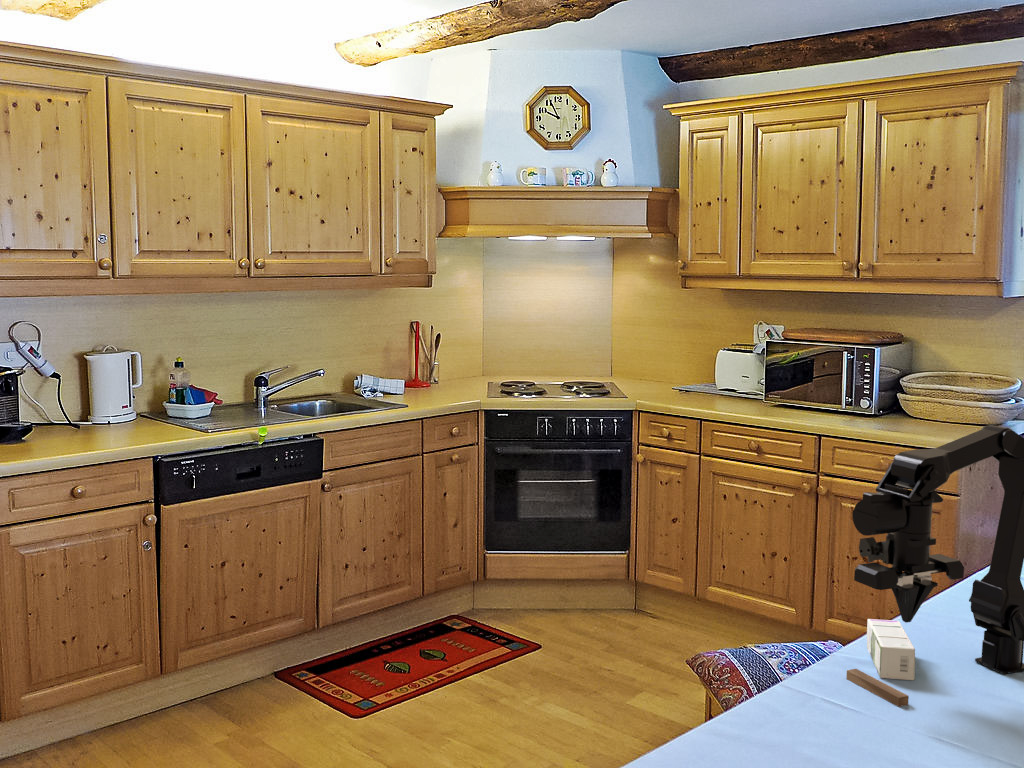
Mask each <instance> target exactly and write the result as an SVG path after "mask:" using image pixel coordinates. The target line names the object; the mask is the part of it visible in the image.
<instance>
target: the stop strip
mask: <svg viewBox="0 0 1024 768" xmlns="http://www.w3.org/2000/svg"><path fill="white" fill-rule="evenodd" d="M845 677H846V680H848V681H850V682H852V683H853V684H855V685H857V686H859V687H861V688H863V689H865V690H866V691H868V692H870V693H872V694H874V695H875V696H878V697H879V698H881V699H884V700H885V701H887V702H888V703H890V704H892V705H894V706H896V707H898V708H900V707H903V706H909V700H910V699H909V696H910V695H909V694H906V693H904V692H902V691H900V690H898V689H896V688H895V687H893V686H891V685H888V684H887V683H885V682H884V681H883V682H882V681H881V680H879V679H877V678H875V677H873V676H871V675H870V674H867V673H866V672H864V671H862V670H860V669H858V668H853V669H847V670H846V676H845Z"/></svg>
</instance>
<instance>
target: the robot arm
mask: <svg viewBox="0 0 1024 768" xmlns="http://www.w3.org/2000/svg"><path fill="white" fill-rule="evenodd" d="M989 458H992V459H994V460H995V461H996V462H997V463H998V472H997V475H998V478H999V480H1000V483H1001V485H1002V488H1003V493H1004V494H1003V497H1002V503H1001V509H1000V512H999V513H1000V514H999V518H998V522H997V523H998V525H997V529H996V535H995V540H994V544H993V549H992V553H991V554H992V555H991V560H990V564H989V569H988V572H987V573H986V574H985V575H984V576H983V577H982V578H981V579H980V580H979V579H975V580H974V581H973V583H972V589H971V594H970V597H969V599H968V602H969V603H970V611H971V612H972V614H973V619H974V624H975V627H980V628H983V629H985V630H984V631H983V640H982V642H981V643H982V644H981V645H982V647H981V657H976V658H974V662H976V663H978V664H980V665H982V666H984V667H987V668H989V669H991V670H994V671H996V672H997V673H1000V674H1003V675H1009V674H1011V673H1013V674H1014V673H1018V672H1022V671H1024V662H1023V661H1024V660H1023V659H1024V586H1023V584H1022V580H1021V575H1022V571H1023V565H1024V437H1023V436H1021V435H1020V434H1018V433H1017V432H1016V431H1014V430H1012V429H1011V428H1009V427H1003V426H998V425H995V424H994V425H993V424H990V425H989V424H988V425H984V426H983V427H982V428H981V429H979V430H977V431H974V432H972V433H970V434H967V435H965V436H963V437H962V436H961V437H959V438H957V439H954V440H953V441H950V442H947V443H945V444H942V445H939V446H937V447H933V448H923V449H920V448H918V449H917V448H916V449H911V450H906V451H901V452H899V453H897V454H896V455H895V456H893V461H892V462H891V464H890V465H889V467H888V468H887V470H886V471H885V473H884V475H883V476H882V478H881V480H880V481H879V483H878V485H877V486H876V488H875V491H876V492H870V491H867V492H866V491H865V492H863V493H862V499H861V500H858V502H857V503H856V504H855V506H854V508H853V510H852V513H851V514H852V515H851V516H852V522H853V525H854V527H855V529H856V531H858V533H859V534H861V535H862V536H865V537H864V538H863V537H862V538H860V539H859V545H858V552H859V555H860V557H862V558H867V561H868V562H867V563H859V564H858V565H857V566H856V567H855V568H854V575H853V576H854V577H853V581H855V582H857V583H860V584H861V585H865V586H867V587H870V588H872V589H874V590H876V591H878V590H879V591H884V590H890V589H891V591H892V593H893V595H894V598H895V601H896V604H897V608H898V611H899V613H900V617H901V620H902V622H904V623H911V622H912V620H913V619H914V618H915V616H916V614H917V613H918V611H919V609H920V608H921V606H922V605H923V603H924V602H925V600H926V599H928V598H927V597H928V596H929V595H930V594H931V592H932V591H933V590H934V588H937V587H938V586H939V585H938V582H936V581H933V577H932V575H933V574H934V575H935V574H940V573H945V576H946V577H947V578H948V579H949V580H959V579H964V577H965V576H964V575H965V574H964V573H965V566H964V565H963V563H962V562H961V560H959V559H957V558H954V557H951V556H948V555H945V554H941V553H935V554H930V550H931V546H936V545H937V538H935V537H932V535H931V534H932V518H933V504H939V503H943V501H944V499H943V497H942V496H941V495H940V494H939V493H937V492H936V490H937V489H938V488H940V487H941V486H943V485H945V484H946V483H947V482H948V480H949V478H950V476H951V475H952V474H954V473H955V472H958V471H960V470H962V469H964V468H965V469H966V468H967V467H969V466H971V465H974V464H976V463H979V462H982V461H984V460H986V459H989ZM885 534H886V536H885V540H884V541H876V539H875V537H873V536H876V535H885ZM866 536H871V537H866ZM879 560H880V561H882V563H883V564H886V566H885V565H883V564H880V563H878V562H875V561H879ZM887 565H891V567H888V566H887Z"/></svg>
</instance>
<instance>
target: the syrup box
mask: <svg viewBox="0 0 1024 768" xmlns="http://www.w3.org/2000/svg"><path fill="white" fill-rule="evenodd" d="M866 626H867V627H866V649H867V651H868V654H869V656H870V658H871V660H872V663H873V665H874V667H875V669H876V670H875V671H876V672H877V674H878V676H879V678H880V679H893V680H905V681H906V680H907V681H914V680H915V674H916V672H915V671H916V649H915V647H914V645H913V643H912V642H911V640H910V638H909V636H908V634H907V633H906V630H904V629H905V628H904V627H903V625H902V624H901V622H900V620H890V619H889V620H888V619H876V618H875V619H874V618H867V625H866Z"/></svg>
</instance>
